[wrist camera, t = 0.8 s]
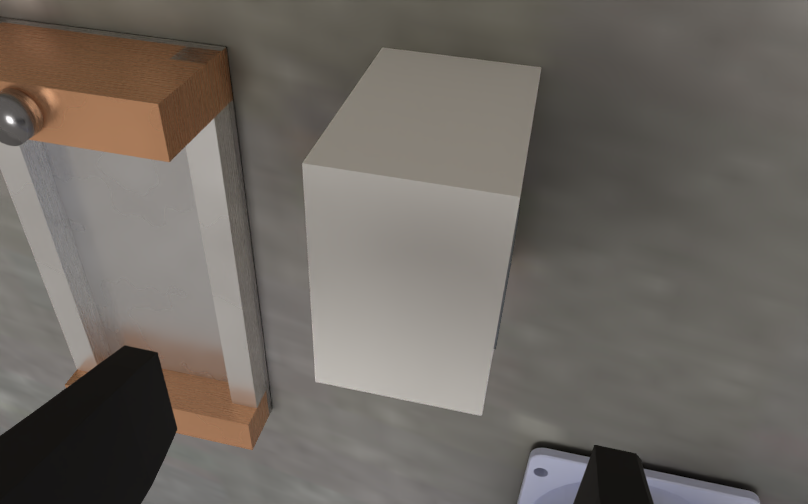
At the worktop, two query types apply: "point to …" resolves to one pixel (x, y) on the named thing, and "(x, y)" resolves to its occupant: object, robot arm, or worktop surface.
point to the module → (417, 225)
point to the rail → (139, 211)
